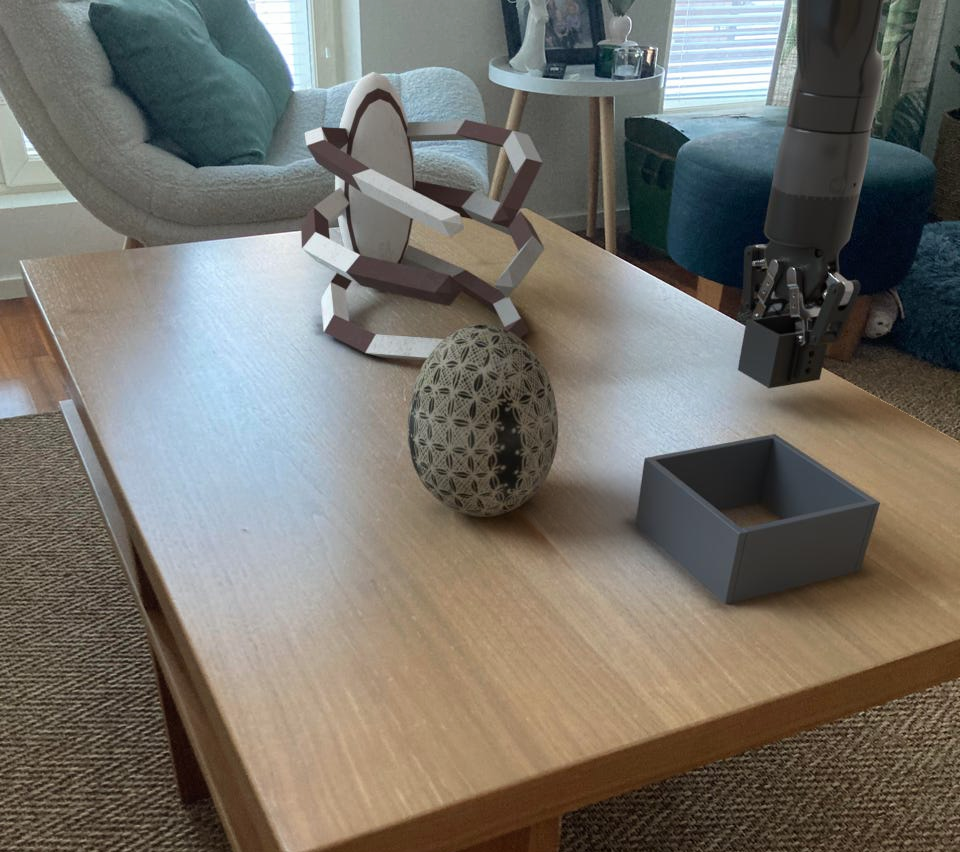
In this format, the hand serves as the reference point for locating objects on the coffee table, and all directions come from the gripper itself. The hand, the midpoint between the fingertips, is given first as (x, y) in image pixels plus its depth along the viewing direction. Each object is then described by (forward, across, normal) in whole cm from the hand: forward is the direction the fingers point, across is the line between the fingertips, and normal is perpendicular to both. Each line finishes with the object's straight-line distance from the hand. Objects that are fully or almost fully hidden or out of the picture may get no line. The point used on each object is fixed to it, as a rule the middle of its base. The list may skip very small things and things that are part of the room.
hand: (779, 370), depth 99 cm
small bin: (0, 0, 0) cm, 0 cm away
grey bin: (+4, -22, +19) cm, 29 cm away
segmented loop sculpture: (+4, +34, +24) cm, 42 cm away
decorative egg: (+4, -8, +35) cm, 36 cm away
